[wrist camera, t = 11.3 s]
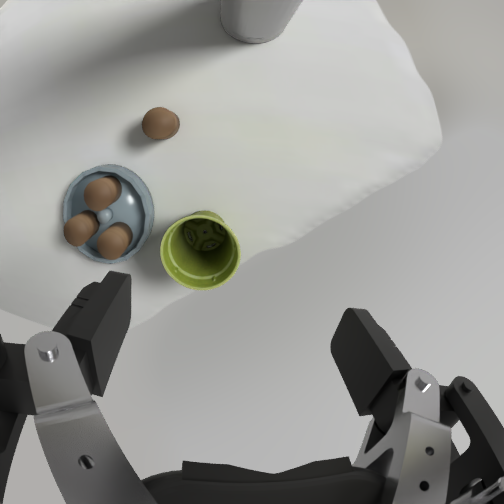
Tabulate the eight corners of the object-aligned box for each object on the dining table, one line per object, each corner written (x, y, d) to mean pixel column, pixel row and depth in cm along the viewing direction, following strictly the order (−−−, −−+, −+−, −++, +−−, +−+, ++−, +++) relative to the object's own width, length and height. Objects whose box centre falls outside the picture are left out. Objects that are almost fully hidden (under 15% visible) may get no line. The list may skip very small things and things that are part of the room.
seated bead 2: (109, 219, 36) (97, 229, 32) (134, 223, 37) (124, 234, 33) (108, 245, 38) (96, 257, 34) (132, 249, 39) (122, 262, 34)
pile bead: (154, 109, 32) (145, 105, 28) (182, 112, 33) (177, 109, 29) (148, 137, 34) (139, 137, 30) (176, 140, 34) (170, 141, 30)
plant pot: (188, 269, 42) (181, 300, 34) (161, 213, 38) (146, 233, 30) (246, 247, 41) (252, 275, 33) (222, 188, 38) (222, 202, 30)
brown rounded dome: (98, 174, 34) (84, 179, 30) (123, 176, 34) (111, 182, 30) (96, 201, 35) (83, 209, 31) (120, 204, 36) (109, 213, 32)
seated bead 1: (77, 208, 35) (63, 216, 31) (100, 211, 36) (87, 220, 32) (77, 233, 37) (63, 244, 32) (99, 237, 37) (87, 248, 33)
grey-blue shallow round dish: (74, 160, 33) (65, 162, 31) (160, 170, 36) (156, 172, 33) (71, 248, 38) (63, 254, 36) (149, 263, 41) (145, 271, 38)
